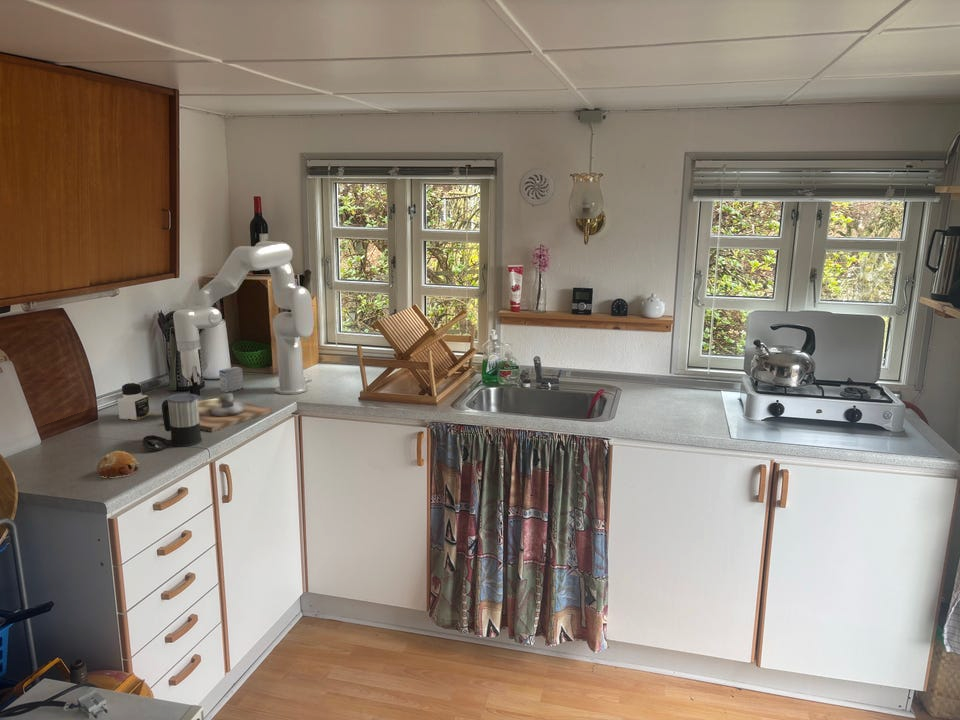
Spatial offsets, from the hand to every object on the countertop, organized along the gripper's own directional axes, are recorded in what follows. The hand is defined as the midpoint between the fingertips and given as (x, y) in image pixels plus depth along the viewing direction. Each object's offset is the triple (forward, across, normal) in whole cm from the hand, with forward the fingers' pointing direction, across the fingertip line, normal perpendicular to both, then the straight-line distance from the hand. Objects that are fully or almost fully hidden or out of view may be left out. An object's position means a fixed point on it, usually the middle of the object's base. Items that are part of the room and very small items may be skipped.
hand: (195, 395), depth 257 cm
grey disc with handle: (+5, +8, +5) cm, 11 cm away
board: (+7, +8, +6) cm, 12 cm away
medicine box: (+8, -29, +19) cm, 35 cm away
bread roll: (+6, +48, -30) cm, 57 cm away
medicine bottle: (+7, -9, -19) cm, 22 cm away
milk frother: (+6, +31, -13) cm, 34 cm away
